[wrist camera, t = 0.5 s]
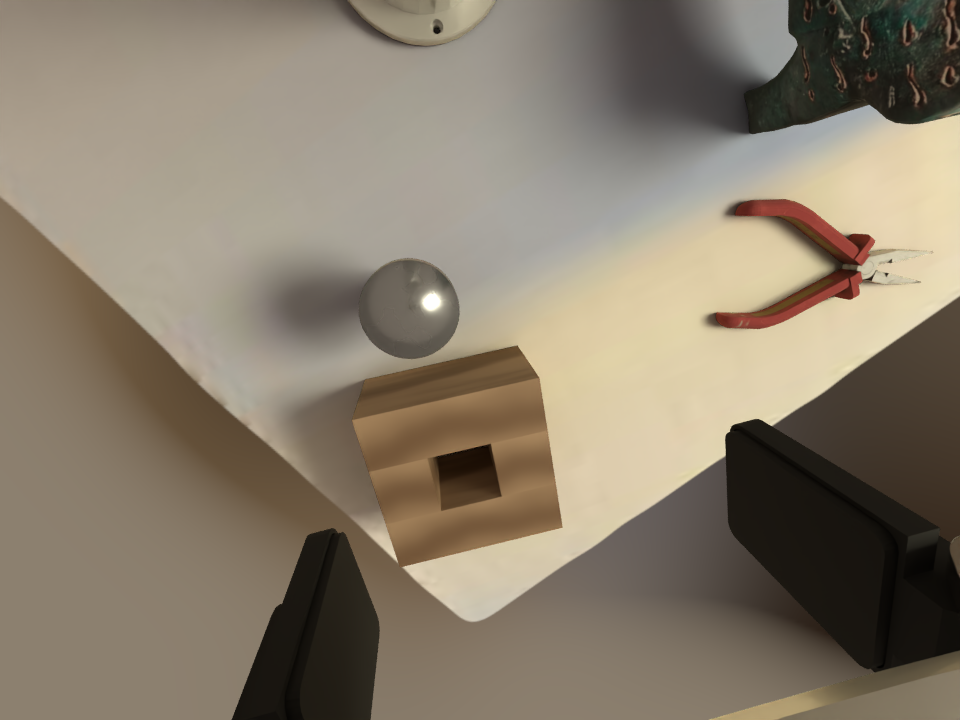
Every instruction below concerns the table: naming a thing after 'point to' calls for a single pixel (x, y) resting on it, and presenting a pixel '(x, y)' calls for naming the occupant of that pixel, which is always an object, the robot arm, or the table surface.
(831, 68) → the ceramic cat
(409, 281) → the grey metal rounded piece
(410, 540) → the socket block
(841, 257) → the pliers
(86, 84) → the table surface
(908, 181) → the table surface
